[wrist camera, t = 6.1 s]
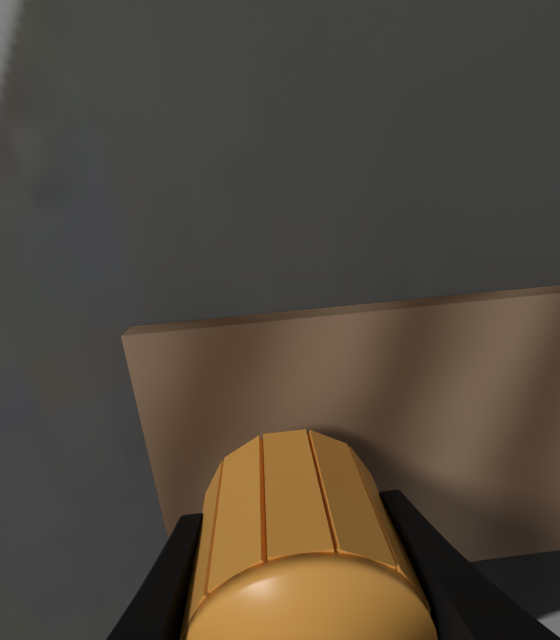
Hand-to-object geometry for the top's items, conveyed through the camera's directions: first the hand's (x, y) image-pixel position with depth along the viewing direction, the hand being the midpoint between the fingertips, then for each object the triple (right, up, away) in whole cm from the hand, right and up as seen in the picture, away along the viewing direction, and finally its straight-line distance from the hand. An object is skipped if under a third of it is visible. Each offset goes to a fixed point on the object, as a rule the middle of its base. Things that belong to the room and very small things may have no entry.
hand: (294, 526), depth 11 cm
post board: (+4, +1, +3) cm, 5 cm away
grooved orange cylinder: (0, 0, +1) cm, 1 cm away
